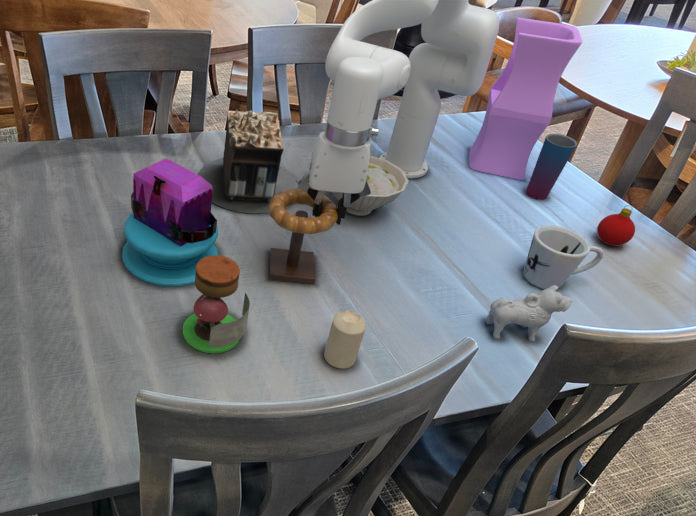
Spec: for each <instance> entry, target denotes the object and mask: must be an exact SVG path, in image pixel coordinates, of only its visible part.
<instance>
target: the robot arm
mask: <svg viewBox="0 0 696 516" xmlns="http://www.w3.org/2000/svg"><path fill="white" fill-rule="evenodd" d="M419 25H420V26H421V29H420V36H421V39H422V40H423V41H424V42H423V43H420V44H418V45H416V46H414V48H413V49H412V50H411V52H410V54H409V56H407V55H406V54H404V52H401V51H398V50H395V49H391V48H388V47H384V46H380V45H376V44H372V43H369V42H365V41H362V40H364V39H365V38H367V37H369V36H371V35H374V34H376V33H377V34H378V33H381V32H386V31H393V30H399V29H405V28H411V27H415V26H419ZM499 30H500V17H499V15H498V14H497V12H495V10H492V9H490V8H485V7H482V6H478V5H474V4H470V3H469V0H370V1H368V2H367V3H365V4H363V5H362V6H360V7H359V8H357V9H356V10H354V12H352V13H351V14H350V15H349V16H348V18H346V20H345V21H344V23H343V24H342V26H341V27H340V29H339V31H338V33H337V34H336V37H335V38H334V40H333V42H332V44H331V46H330V48H329V50H328V52H327V55H326V58H325V65H324V70H325V74H326V75H327V78H328V79H329V80H331V81H333V82H334V83H333V88H332V93H331V98H330V103H329V104H330V105H329V108H328V113H327V117H326V118H327V119H326V123H325V129H324V131H321V132H319V134H318V136H317V139H316V141H315V144H314V148H313V150H312V155H311V158H310V162H309V167H308V171H307V172H306V173H305V174H304V175H303V176H302V178H300V180H299V181H298V182H297V184H298V189H302V190H303V191H305V192H307V193H308V195H309V196H310V197H311V198H312V199H313V200H314V206H313V207H312V211H311V215H312V216H313V217H318V216H320V215H321V213H322V208H323V202H322V198H323V195H325V192H331V193H333V192H341V193H343V196H342V198H341V199H340V200H338V202H337V205H336V207H337V213H338V220H337V222H336V223H335V224H336V225H337V226H338V225H339V226H340V225H341V223H342V220H345V218H346V214H347V211H346V210H347V207H349V206H350V204H351V203H353V202H354V201H356V200H358V199H359V198H360V197H364V196H367V195H370V194H371V190H370V187H369V184H368V181H367V179H366V178H367V172H368V166H369V159H370V156H371V137H374V136H375V137H378V135H379V128H378V127H375V126H373V125H372V124H373V122H374V121H373V120H374V117H375V113H376V109H377V103H378V101H379V100H382V99H385V98H389V97H391V96H393V95H395V94H397V93H398V92H399V91H400V90H402V89H403V94H402V96H401V100H400V104H399V107H398V111H397V114H396V118H395V122H394V126H393V129H392V133H391V136H390V140H389V144H388V148H387V150H386V152H384V153H382V154H381V155H380V156H379V158H380V159H384V160H387V161H389V162H390V163H392V164H394V165H395V166H397V167H399V168H400V169H402V170H403V172H404V174H405V175H406V177H407V179H418V178H421V177H424V176H425V175H426V174H427V173H428V171H429V165H428V162H426V160H425V159H426V156H427V153H428V151H429V146H430V143H431V141H432V138H433V134H434V131H435V128H436V125H437V121H438V118H439V115H440V112H441V109H442V100H441V96H440V93H439V91H442V92H445V93H449V94H452V95H457V96H460V97H472V96H474V95H475V94H477V93H478V91H479V90H480V89H481V87H482V85H483V83H484V81H485V78H486V75H487V72H488V69H489V65H490V62H491V59H492V55H493V51H494V48H495V45H496V40H497V38H498V34H499Z"/></svg>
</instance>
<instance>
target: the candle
mask: <svg viewBox="0 0 696 516" xmlns="http://www.w3.org/2000/svg"><path fill="white" fill-rule="evenodd" d="M366 329H367V323H366V321H365V319H364V318H363V317H362V316H361V315H360V314H359V313H357V312H355V311H353V310H351V309H345V310H343V311H339V312H337V313H335V314H334V315H333V318H332V321H331V325H330V329H329V332H328V337H327V339H326V345H325V348H324V352H323V355H324V360H325V361H326V362H327V364H328V365H330V366H332V367H334V368H337V369H341V370H342V369H343V370H344V369H349V368H351V367H352V366H354V364H355V362H356V360H357V358H358V354H359V351H360V348H361V344H362V341H363V338H364V335H365V331H366Z"/></svg>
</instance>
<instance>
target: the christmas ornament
mask: <svg viewBox="0 0 696 516" xmlns="http://www.w3.org/2000/svg"><path fill="white" fill-rule="evenodd" d="M626 207H630V208H633V205H630V204H627V205H625V206H624V207H622V208H621V211H620V212H619V213H613V214H609V215H607V216H605V217H603V218H602V219H601V220H600V221H599V223H598V225H597V227H596V233H597V236H598V238H599V240H600V241H601V242H603V243H604V244H606V245H608V246H611V247H616V246H617V247H618V246H624V245H625V244H627V243H629V242H630V241H631V240H632V239H633V238H634V235H635V233H636V225H635V223H634V221H633V220H632V219H631V215H632V214H633V209H629V208H626Z"/></svg>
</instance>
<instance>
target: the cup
mask: <svg viewBox="0 0 696 516" xmlns="http://www.w3.org/2000/svg"><path fill="white" fill-rule="evenodd" d="M577 145H578V141H576V139H574V138H573V137H570V136H568V135H566V134H561V133H549V134H546V136H545V138H544V141H543V144H542V146H541V149H540V152H539V155H538V157H537V160H536V163H535V165H534V168H533V171H532V173H531V176H530V179H529V181H528V184H527V187H526V190H525V194H526V196H528V197H529V198H531V199H534V200H536V201H537V200H538V201H543V200H546V199H547V198H548V196H549V195H550V194H551V191H552V190H553V188H554V186H555V184H556V182H557V181H558V179H559V178H560V175H561V174H562V172H563V170H564V168H565V167H566V165H567V163H568V161H569V159H570V158H571V156H572V154H573V153H574V151H575V149H576V148H577Z"/></svg>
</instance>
